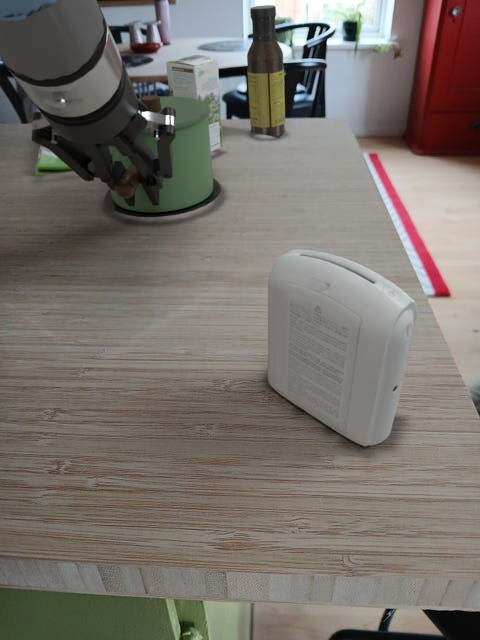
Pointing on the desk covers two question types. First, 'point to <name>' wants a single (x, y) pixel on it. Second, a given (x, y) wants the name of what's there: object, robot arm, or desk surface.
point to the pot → (188, 159)
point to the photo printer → (338, 342)
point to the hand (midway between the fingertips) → (143, 195)
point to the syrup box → (198, 88)
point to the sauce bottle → (265, 75)
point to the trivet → (119, 209)
